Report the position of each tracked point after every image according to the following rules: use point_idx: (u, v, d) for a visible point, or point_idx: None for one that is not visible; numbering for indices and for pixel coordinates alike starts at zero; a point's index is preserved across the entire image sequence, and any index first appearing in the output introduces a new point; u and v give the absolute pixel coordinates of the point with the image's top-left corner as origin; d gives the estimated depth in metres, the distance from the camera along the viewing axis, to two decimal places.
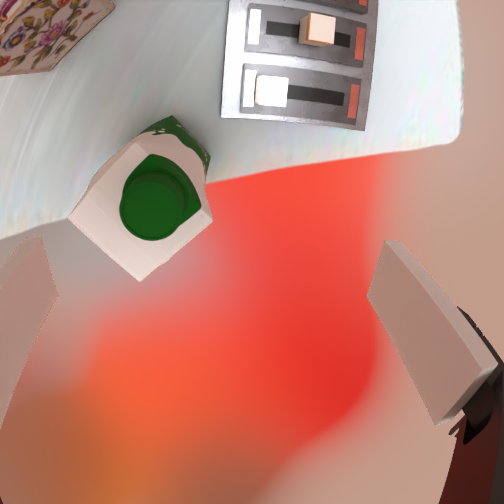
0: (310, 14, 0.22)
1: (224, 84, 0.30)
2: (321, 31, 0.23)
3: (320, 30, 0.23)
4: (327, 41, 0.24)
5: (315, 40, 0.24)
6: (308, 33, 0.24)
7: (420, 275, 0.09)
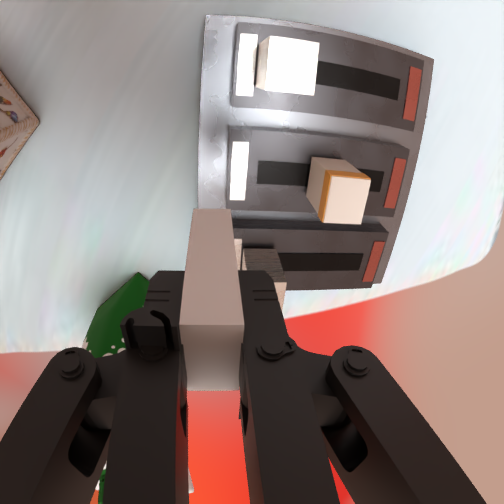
0: (330, 178, 0.17)
1: None
2: (345, 207, 0.17)
3: (343, 204, 0.17)
4: (352, 222, 0.18)
5: None
6: (323, 210, 0.18)
7: (220, 237, 0.11)
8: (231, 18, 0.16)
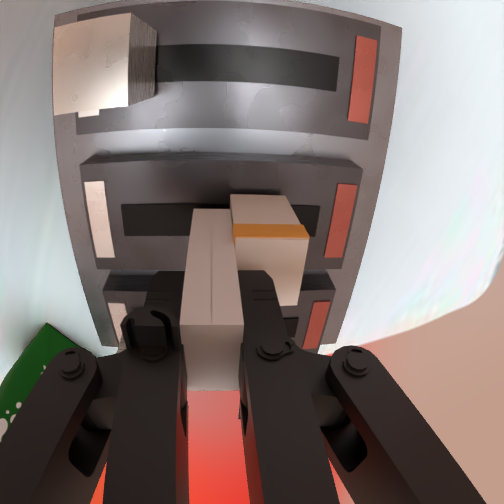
0: (235, 240, 0.10)
1: (90, 306, 0.18)
2: None
3: None
4: (281, 303, 0.12)
5: None
6: None
7: (220, 237, 0.11)
8: (83, 11, 0.10)
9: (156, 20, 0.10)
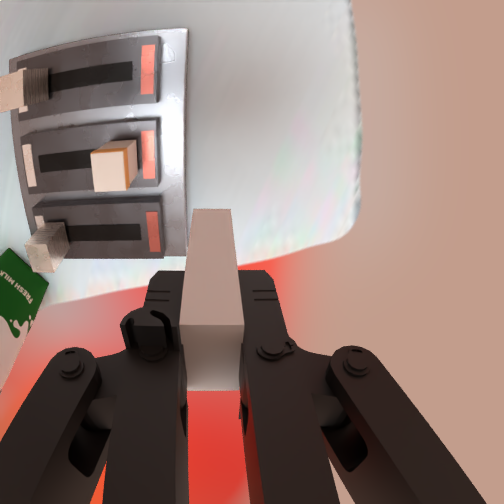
0: (91, 155, 0.19)
1: (29, 225, 0.27)
2: (107, 177, 0.20)
3: (106, 175, 0.20)
4: (117, 189, 0.20)
5: None
6: (95, 182, 0.20)
7: (220, 237, 0.11)
8: (22, 57, 0.18)
9: (49, 61, 0.18)
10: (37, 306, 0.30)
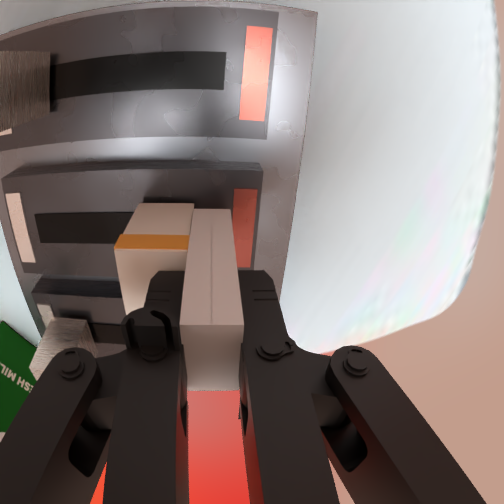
0: None
1: (29, 306, 0.17)
2: None
3: None
4: None
5: None
6: (125, 297, 0.11)
7: (220, 237, 0.11)
8: (6, 36, 0.09)
9: (53, 41, 0.09)
10: None
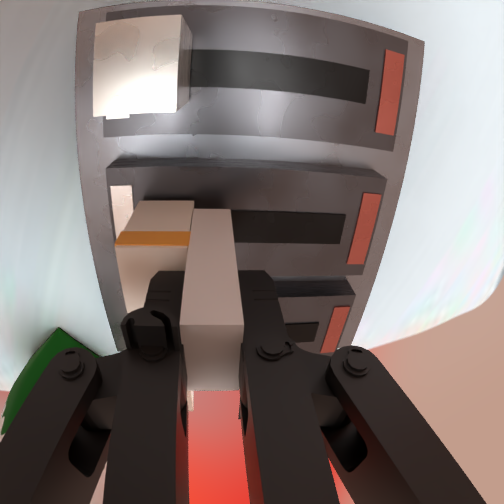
0: None
1: (107, 311, 0.18)
2: None
3: None
4: None
5: None
6: (126, 294, 0.11)
7: (220, 237, 0.11)
8: (110, 10, 0.10)
9: (191, 23, 0.10)
10: None
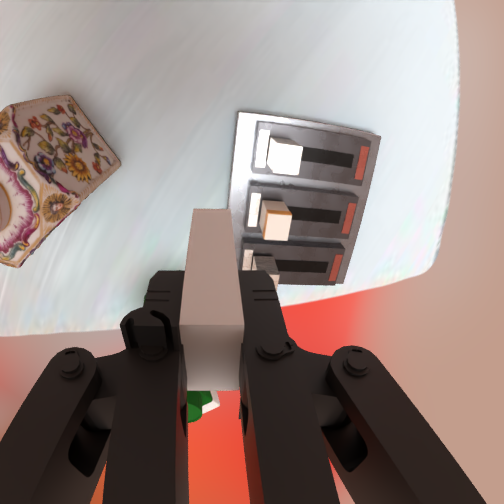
0: (267, 214, 0.31)
1: None
2: (276, 231, 0.32)
3: (275, 229, 0.32)
4: (281, 239, 0.33)
5: None
6: (264, 232, 0.32)
7: (220, 237, 0.11)
8: (254, 116, 0.32)
9: (291, 134, 0.32)
10: None
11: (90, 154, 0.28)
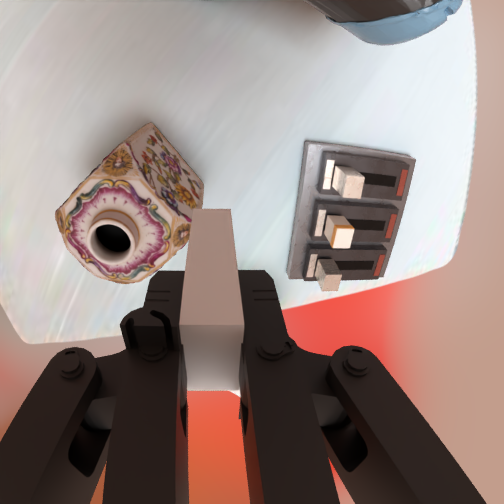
0: (336, 229, 0.39)
1: (293, 258, 0.47)
2: (342, 241, 0.40)
3: (341, 239, 0.40)
4: (345, 247, 0.40)
5: None
6: (333, 242, 0.40)
7: (220, 237, 0.11)
8: (320, 146, 0.39)
9: (351, 162, 0.39)
10: None
11: (186, 181, 0.36)
